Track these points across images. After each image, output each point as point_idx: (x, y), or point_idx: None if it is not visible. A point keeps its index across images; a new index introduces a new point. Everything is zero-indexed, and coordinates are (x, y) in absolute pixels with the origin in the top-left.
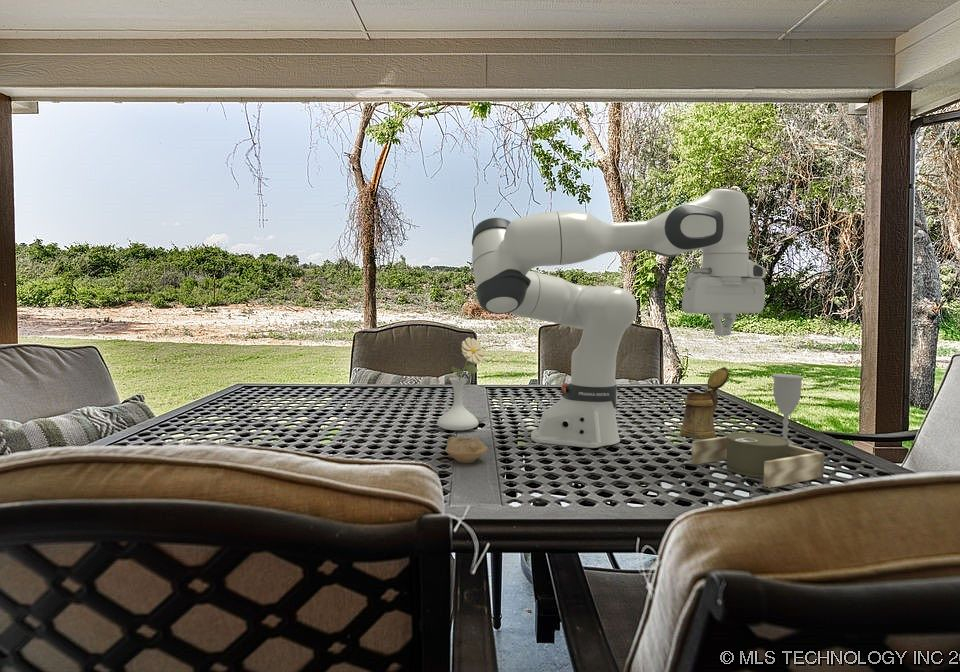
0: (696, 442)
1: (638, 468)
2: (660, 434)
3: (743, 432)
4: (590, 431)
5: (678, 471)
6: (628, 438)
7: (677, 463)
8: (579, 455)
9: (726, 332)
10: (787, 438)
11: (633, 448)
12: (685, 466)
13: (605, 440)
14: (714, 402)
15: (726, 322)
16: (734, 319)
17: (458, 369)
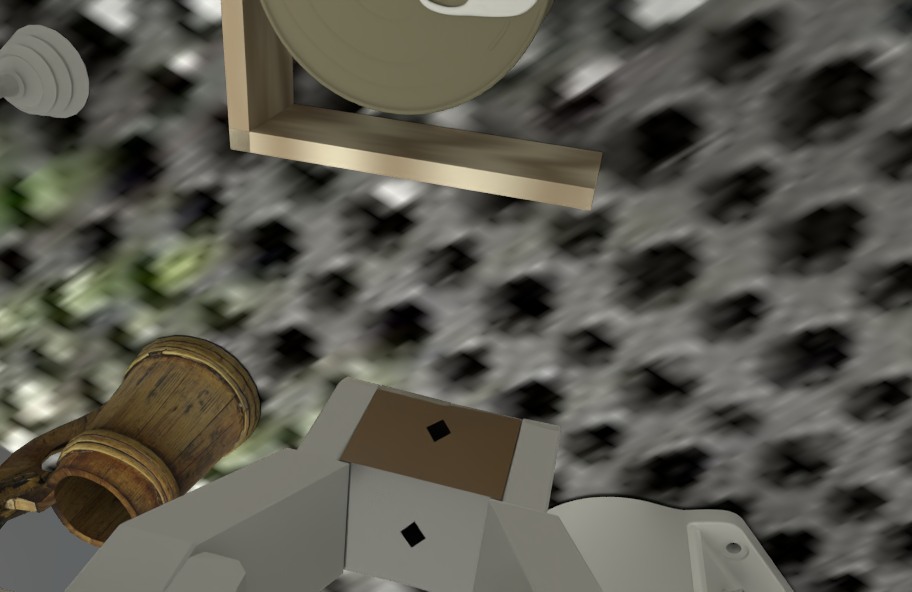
0: (589, 186)
1: (870, 257)
2: None
3: (333, 88)
4: (711, 584)
5: (769, 130)
6: None
7: (648, 207)
8: (877, 494)
9: (433, 417)
10: (5, 72)
11: (592, 430)
12: (663, 160)
13: (660, 521)
14: (38, 451)
15: (275, 583)
16: (160, 527)
17: None
